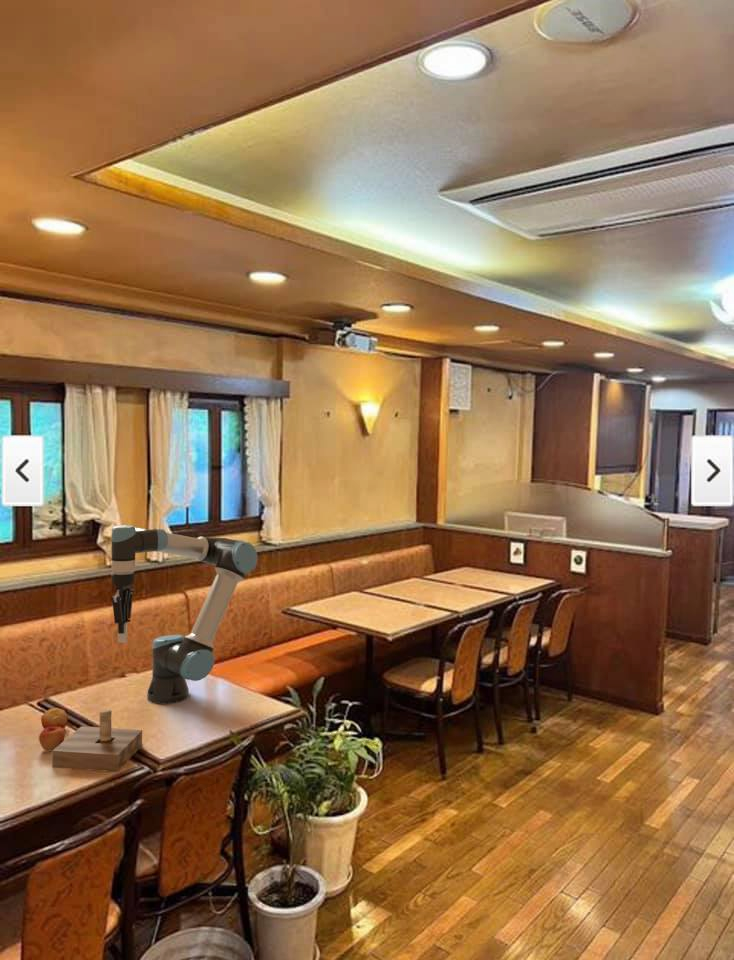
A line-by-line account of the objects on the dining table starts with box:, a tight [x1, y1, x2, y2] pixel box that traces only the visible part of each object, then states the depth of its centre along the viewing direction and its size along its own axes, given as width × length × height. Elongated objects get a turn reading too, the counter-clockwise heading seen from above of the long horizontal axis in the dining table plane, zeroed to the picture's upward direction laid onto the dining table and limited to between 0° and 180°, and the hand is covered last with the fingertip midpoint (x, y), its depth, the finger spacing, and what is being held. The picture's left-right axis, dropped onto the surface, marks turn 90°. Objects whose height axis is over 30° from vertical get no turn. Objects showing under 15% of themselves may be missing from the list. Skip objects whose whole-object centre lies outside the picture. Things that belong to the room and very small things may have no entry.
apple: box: [38, 725, 66, 752], centre depth 219 cm, size 7×7×8 cm
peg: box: [99, 709, 113, 744], centre depth 215 cm, size 4×4×14 cm
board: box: [51, 725, 143, 773], centre depth 215 cm, size 18×20×5 cm
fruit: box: [40, 707, 69, 730], centre depth 233 cm, size 8×8×8 cm
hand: (122, 642), depth 235 cm, fingers closed
